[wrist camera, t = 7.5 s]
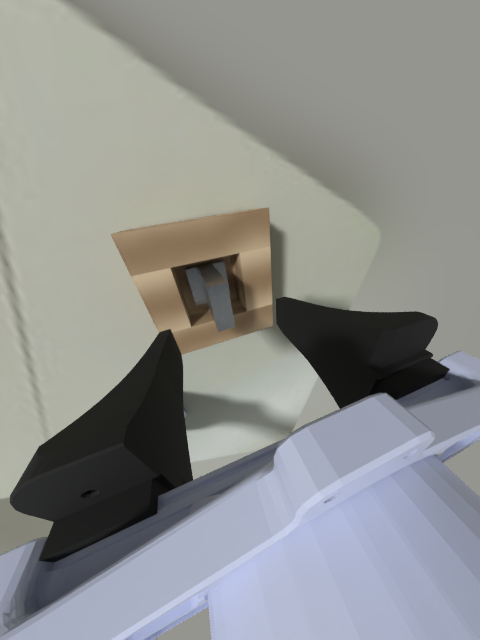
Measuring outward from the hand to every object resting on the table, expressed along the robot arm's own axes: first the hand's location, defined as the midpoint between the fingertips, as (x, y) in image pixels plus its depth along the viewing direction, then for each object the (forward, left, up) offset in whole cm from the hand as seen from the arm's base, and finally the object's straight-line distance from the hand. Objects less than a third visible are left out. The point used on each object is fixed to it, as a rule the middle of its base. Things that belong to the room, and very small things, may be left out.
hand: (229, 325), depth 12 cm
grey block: (0, 0, -9) cm, 9 cm away
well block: (0, 0, -10) cm, 10 cm away
